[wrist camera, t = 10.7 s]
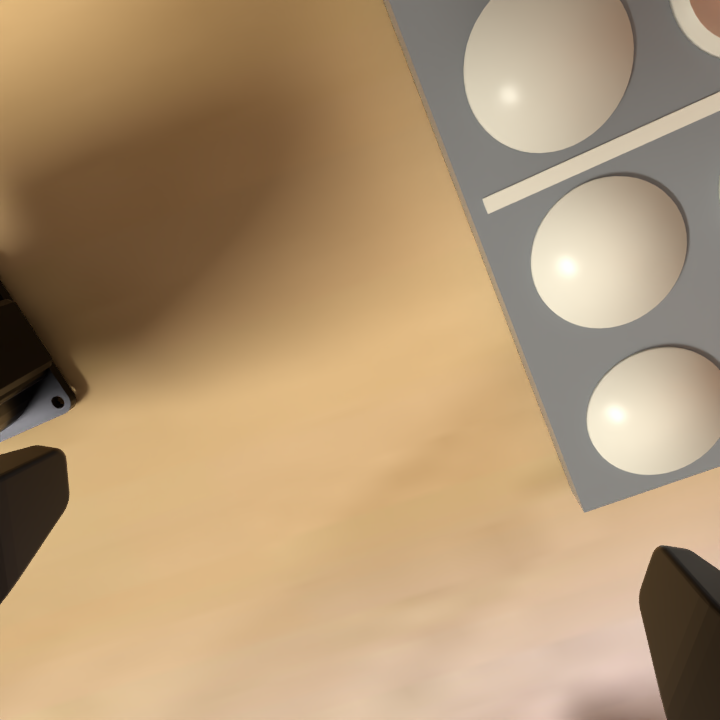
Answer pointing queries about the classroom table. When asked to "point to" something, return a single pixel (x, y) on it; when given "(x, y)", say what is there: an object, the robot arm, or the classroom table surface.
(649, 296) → the pattern board
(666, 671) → the robot arm
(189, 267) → the classroom table surface
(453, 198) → the classroom table surface
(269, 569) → the classroom table surface
